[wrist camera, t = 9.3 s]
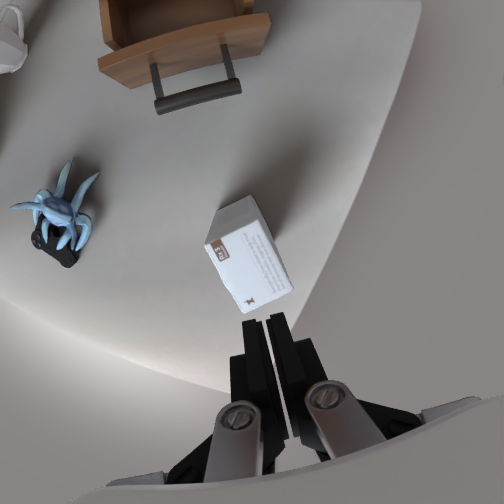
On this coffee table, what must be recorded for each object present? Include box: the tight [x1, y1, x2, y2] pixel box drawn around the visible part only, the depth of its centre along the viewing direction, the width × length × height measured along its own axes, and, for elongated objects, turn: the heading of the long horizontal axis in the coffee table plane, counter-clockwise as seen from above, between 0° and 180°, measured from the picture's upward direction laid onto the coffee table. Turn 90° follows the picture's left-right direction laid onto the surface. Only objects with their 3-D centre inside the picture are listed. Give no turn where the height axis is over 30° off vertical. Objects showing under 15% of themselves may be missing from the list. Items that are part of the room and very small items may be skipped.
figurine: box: [10, 158, 100, 268], centre depth 26 cm, size 10×12×8 cm
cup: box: [0, 4, 28, 74], centre depth 18 cm, size 7×10×8 cm
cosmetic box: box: [204, 195, 294, 314], centre depth 26 cm, size 6×4×12 cm
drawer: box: [98, 0, 272, 115], centre depth 20 cm, size 19×13×8 cm
